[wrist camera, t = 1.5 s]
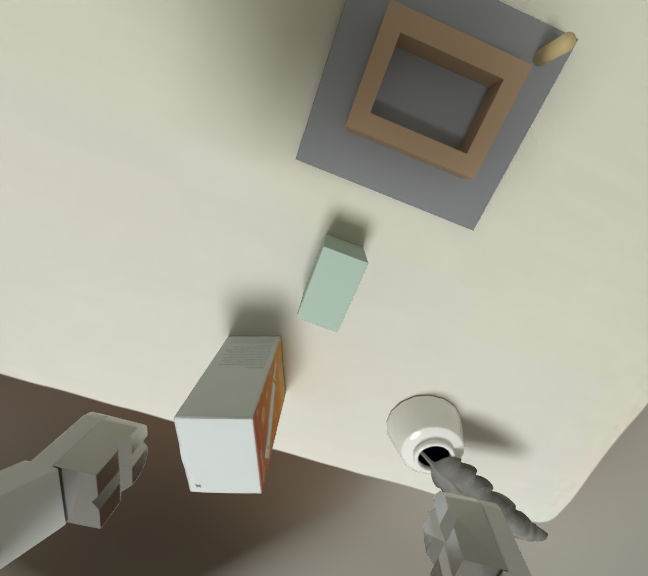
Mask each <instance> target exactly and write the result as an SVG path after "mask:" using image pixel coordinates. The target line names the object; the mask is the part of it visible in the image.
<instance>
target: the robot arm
mask: <svg viewBox="0 0 648 576" xmlns="http://www.w3.org/2000/svg"><path fill="white" fill-rule="evenodd" d="M146 436H147V426H146V425H143V424H139V423H135V422H131V421H128V420H124V419H120V418H116V417H112V416H108V415H103V414H99V413H95V412H90V413H88V414H85V415H84V416H83V417H81V418H80V419H79V420H78V421H77V422H76V423H75V424H73V425H72V426H71V427H70V428H69V429H68V430H66V431H65V432H64V433H63V434H62V435H61V436H60V437H58V438H57V439H56V440H55V441H54V442H53V443H52V444H50V445H49V446H48V447H47V448H46V449H45V450H43V451H42V452H41V453H40V454H39V455H38V456H37V457H35V458H34V459H33V460H32V461H31V462H30V461H22V462H20V463H18V464H15V465H13V466H11V467H9V468H6V469H3V470H1V471H0V569H1V568H3V567H4V566H5V565H7V564H8V563H10V562H11V561H13V560H14V559H16V558H17V557H19V556H20V555H22V554H23V553H25V552H26V551H27V550H29V549H30V548H32V547H33V546H35V545H36V544H38V543H39V542H41V541H42V540H44V539H45V538H46V537H48V536H49V535H51V534H52V533H53V532H55V531H57V530H58V529H59V528H61V527H62V526H64V525H65V524H66V522H69V523H75V524H80V525H85V526H90V527H95V528H100V529H101V528H102V526H103V525H104V523H105V522H106V521H107V519H108V518H109V517H110V515H111V514H112V512H113V511H114V510H115V508H116V507H117V506H118V504H119V503H120V498H121V496H120V495H121V491H123V490H125V489H126V488H128V487H130V486H131V485H133V483H134V482H135V481H136V479H137V478H138V476H139V475H140V473H141V471H142V469H143V466H144V464H145V462H146V458H147V446H146V445H145V443H144V442H143V440H144V439H145V437H146ZM433 501H434V505H435V508H433V509H432V510H430V511H428V513H427V515H426V518H425V522H424V543H425V549H426V553H427V555H428V556H429V558H430V559H431V560H432V562H433V563H434V566H433V568H432V571H431V573H430V575H431V576H531V574H530V572H529V570H528V567H527V565H526V563H525V561H524V559H523V556H522V555H521V552H520V550H519V548H518V545H517V543H516V541H515V539H514V537H513V534H512V532H511V530H510V528H509V526H508V523H507V521H506V519H505V517H504V515H503V512H502V510H501V508H500V507H499V506H498V505H497V504H496V503H491V502H487V501H482V500H478V499H475V498H470V497H466V496H461V495H456V494H451V493H447V492H442V491H439V492H438V493H436V495H435V498H434V500H433Z"/></svg>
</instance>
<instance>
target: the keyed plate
mask: <svg viewBox="0 0 648 576" xmlns="http://www.w3.org/2000/svg"><path fill="white" fill-rule="evenodd" d="M577 41H578V39H577V38H576V36H575V34H574V33H572V32H567V33H565V32H562V31H560V30H558V29H556V28H554V27H552V26H550V25H548V24H546V23H544V22H541V21H539V20H537V19H535V18H533V17H531V16H529V15H527V14H525V13H523V12H521V11H518V10H516V9H514V8H512V7H510V6H508V5H506V4H504V3H502V2H500V1H497V0H346V2H345V6H344V9H343V12H342V15H341V18H340V21H339V25H338V28H337V31H336V34H335V37H334V40H333V43H332V47H331V50H330V53H329V56H328V59H327V62H326V66H325V69H324V72H323V75H322V78H321V81H320V84H319V88H318V91H317V94H316V97H315V100H314V103H313V107H312V110H311V113H310V116H309V119H308V122H307V125H306V129H305V132H304V135H303V138H302V141H301V144H300V147H299V151H298V154H297V157H296V159H297V160H300V161H302V162H305V163H307V164H310V165H312V166H314V167H317V168H319V169H322V170H324V171H327V172H329V173H332V174H334V175H337V176H339V177H342V178H344V179H347V180H349V181H352V182H354V183H357V184H359V185H362V186H364V187H367V188H369V189H372V190H374V191H377V192H379V193H382V194H384V195H386V196H389V197H391V198H394V199H396V200H399V201H401V202H404V203H406V204H409V205H411V206H414V207H416V208H419V209H421V210H424V211H426V212H429V213H431V214H434V215H436V216H439V217H441V218H444V219H446V220H449V221H451V222H454V223H456V224H458V225H461V226H463V227H466V228H468V229H471V230H474V228H475V226H476V225H477V223H478V221H479V219H480V217H481V215H482V214H483V212H484V210H485V208H486V206H487V205H488V203H489V201H490V199H491V197H492V195H493V194H494V192H495V190H496V188H497V186H498V184H499V183H500V181H501V179H502V177H503V175H504V174H505V172H506V170H507V168H508V166H509V164H510V163H511V161H512V159H513V157H514V155H515V154H516V152H517V150H518V148H519V146H520V144H521V143H522V141H523V139H524V137H525V135H526V133H527V132H528V130H529V128H530V126H531V124H532V123H533V121H534V119H535V117H536V115H537V113H538V112H539V110H540V108H541V106H542V104H543V103H544V101H545V99H546V97H547V95H548V93H549V92H550V90H551V88H552V86H553V84H554V83H555V81H556V79H557V77H558V75H559V73H560V72H561V70H562V68H563V66H564V64H565V62H566V61H567V59H568V57H569V55H570V53H571V52H572V50H573V48H574V46H575V44H576V42H577Z"/></svg>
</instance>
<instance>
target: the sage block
mask: <svg viewBox="0 0 648 576" xmlns="http://www.w3.org/2000/svg"><path fill="white" fill-rule="evenodd" d="M367 265H368V261H367V258H366V255H365V252H364V249H363V248H362V247H360V246H357V245H354V244H352V243H349V242H347V241H344V240H341V239H339V238H336V237H334V236H331V235H328V234H326V235H325V238H324V241H323V243H322V246H321V249H320V251H319V254H318V257H317V259H316V262H315V264H314V267H313V270H312V272H311V275H310V278H309V280H308V283H307V285H306V288H305V291H304V293H303V297H302V300H301V303H300V307H299V310H298V314H297V317H296V318H299V319H301V320H304V321H307V322H310V323H313V324H315V325H318V326H321V327H324V328H327V329H329V330H332V331H335V332H338V331H339V328H340V326H341V324H342V322H343V319H344V317H345V315H346V313H347V310H348V308H349V306H350V304H351V301H352V299H353V297H354V295H355V292H356V290H357V288H358V286H359V283H360V281H361V279H362V277H363V274H364V272H365V270H366V268H367Z"/></svg>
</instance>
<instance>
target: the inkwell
mask: <svg viewBox="0 0 648 576" xmlns="http://www.w3.org/2000/svg"><path fill="white" fill-rule="evenodd" d="M387 434H388V436H389V438H390V440H391V442H392V443H393V445H394V447H395V449H396V450H397V452H398V454H399V455H400V457H401V459H402V460H403V462H404V463H405V465H406V466H408V467H409V468H411V469H412V470H414V471H417V472H421V473H425V474H430V473H431V476H432V480H433V482H434V484H435V485H436V487H437V488H441V490H442V492H447V493H451V494H456V495H461V496H466V497H470V498H475V499H478V500H482V501H487V502H491V503H496V504H497V505H498V506H499V507H500V508H501V510H502V512H503V515H504V517H505V519H506V521H507V523H508V526H509V528H510V530H511V532H512V534H513V537H514V538H517V539H522V540H526V541H543V540H545V539H546V538H547V536H548V533H546V532H545V531H544V530H542V529H541V528H539V527H538V526H537V525H536V524H534V523H532V522H531V520H530V519H529V518H528V517H527V516H526V515H525V514H524V513H522V512H521V511H518V510H516V505H515V504H514V503H513V502H512V501H511V500H510V499H509V498H507V497H506V496H504V495H502V494H500V493H498V492H493V491H492V490H493V486H492V484H491V483H490V482H489V481H488V480H487V479H486V478H484V477H482V476H478V475H476V472H477V469H476V468H475V467H473V466H471V465H469V464H466V463H462V462H461V457H462V455H463V454H464V439H463V430H462V423H461V417H460V415H459V413H458V412H457V410H456V408H455V407H454V406H453V405H451V404H450V403H449V402H447V401H446V400H445V399H442V398H438V397H433V396H416V397H413V398H410V399H408V400H406V401H403V402H401V403H400V404H399V405H398V406H397V407H396V408H395V409H393V410H392V411H391V413H390V416H389V418H388V421H387Z"/></svg>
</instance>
